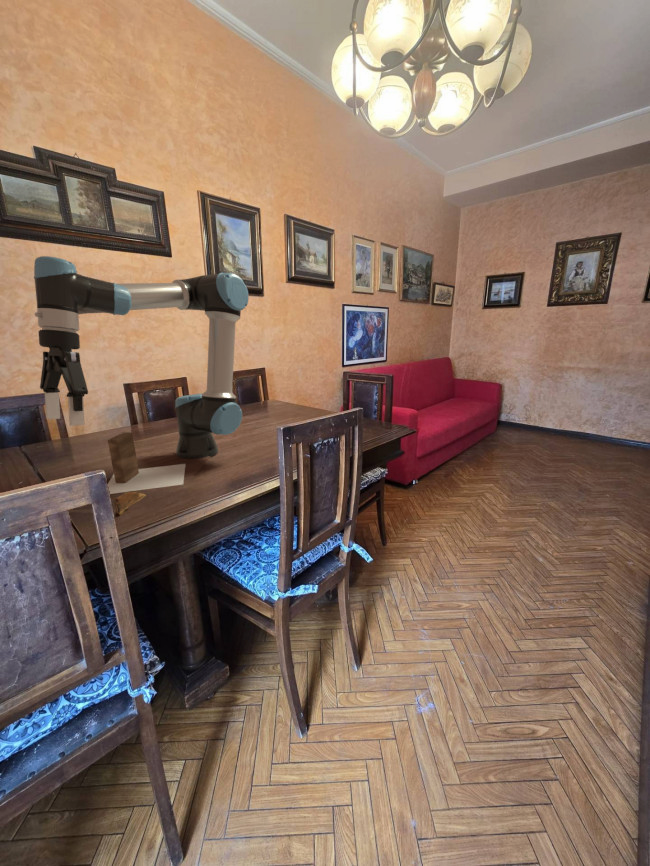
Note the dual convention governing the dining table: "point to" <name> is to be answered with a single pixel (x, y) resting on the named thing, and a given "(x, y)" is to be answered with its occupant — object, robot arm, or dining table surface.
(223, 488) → the dining table surface
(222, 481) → the dining table surface
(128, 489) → the white paper sheet
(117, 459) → the walnut slab
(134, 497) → the shard
